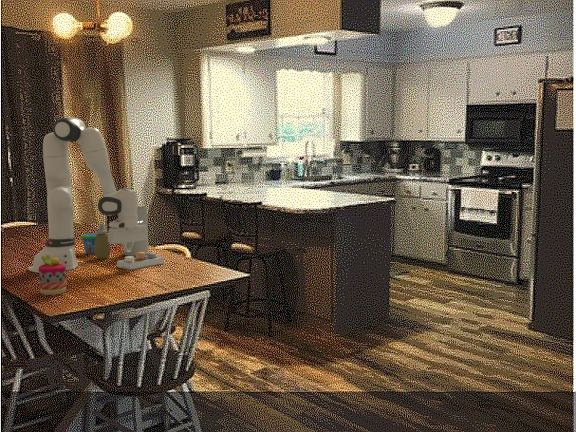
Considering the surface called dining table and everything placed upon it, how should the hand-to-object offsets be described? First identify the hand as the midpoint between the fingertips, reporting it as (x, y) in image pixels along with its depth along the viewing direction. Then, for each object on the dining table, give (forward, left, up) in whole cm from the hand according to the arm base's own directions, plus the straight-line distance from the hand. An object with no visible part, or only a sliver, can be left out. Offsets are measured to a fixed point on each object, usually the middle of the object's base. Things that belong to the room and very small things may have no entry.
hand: (127, 251), depth 302 cm
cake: (-49, -18, -8) cm, 53 cm away
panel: (+7, -1, -8) cm, 10 cm away
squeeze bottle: (+5, +28, -8) cm, 30 cm away
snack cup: (+9, +43, -8) cm, 45 cm away
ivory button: (0, -1, -6) cm, 6 cm away
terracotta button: (+7, -1, -5) cm, 8 cm away
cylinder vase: (+23, +24, -8) cm, 34 cm away
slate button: (+13, -1, -6) cm, 15 cm away
